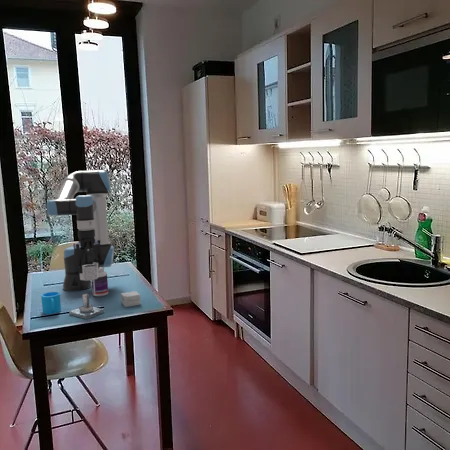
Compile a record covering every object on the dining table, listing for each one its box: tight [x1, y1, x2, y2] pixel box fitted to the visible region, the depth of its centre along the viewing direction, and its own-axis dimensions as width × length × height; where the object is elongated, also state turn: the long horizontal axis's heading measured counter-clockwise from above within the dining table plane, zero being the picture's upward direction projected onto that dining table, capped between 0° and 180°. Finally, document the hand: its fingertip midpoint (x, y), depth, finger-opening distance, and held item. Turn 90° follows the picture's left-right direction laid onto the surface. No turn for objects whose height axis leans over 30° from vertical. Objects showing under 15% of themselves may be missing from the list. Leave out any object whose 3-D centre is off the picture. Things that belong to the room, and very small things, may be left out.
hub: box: [83, 264, 98, 281], centre depth 210 cm, size 7×7×6 cm
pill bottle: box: [91, 267, 109, 297], centre depth 237 cm, size 8×8×14 cm
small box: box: [120, 290, 142, 308], centre depth 221 cm, size 8×8×5 cm
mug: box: [40, 291, 62, 315], centre depth 212 cm, size 12×8×8 cm
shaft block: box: [68, 293, 105, 320], centre depth 208 cm, size 12×10×9 cm
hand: (89, 277), depth 211 cm, fingers closed on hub, 7 cm apart
